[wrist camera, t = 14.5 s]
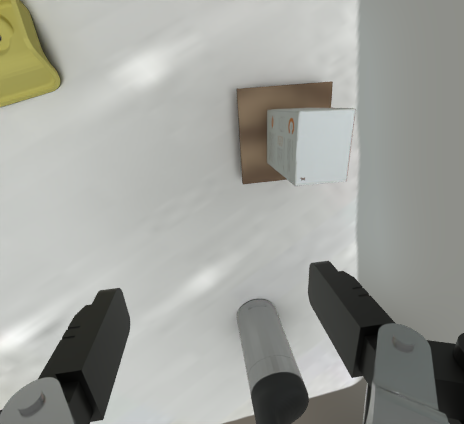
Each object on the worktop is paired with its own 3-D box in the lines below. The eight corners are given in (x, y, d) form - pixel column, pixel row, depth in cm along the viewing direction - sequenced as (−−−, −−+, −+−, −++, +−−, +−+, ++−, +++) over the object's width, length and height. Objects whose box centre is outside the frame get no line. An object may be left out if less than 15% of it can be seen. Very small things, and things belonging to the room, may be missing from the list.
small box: (304, 160, 42) (347, 183, 30) (266, 163, 41) (294, 187, 29) (308, 106, 39) (357, 107, 27) (266, 108, 38) (297, 110, 26)
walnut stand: (313, 168, 48) (326, 175, 43) (238, 176, 47) (243, 184, 42) (318, 84, 42) (332, 81, 38) (233, 90, 41) (237, 88, 37)
